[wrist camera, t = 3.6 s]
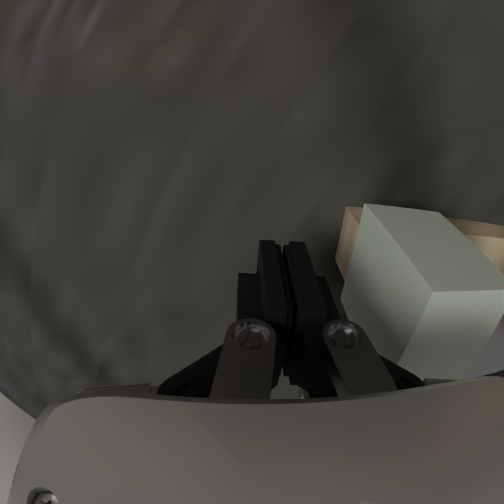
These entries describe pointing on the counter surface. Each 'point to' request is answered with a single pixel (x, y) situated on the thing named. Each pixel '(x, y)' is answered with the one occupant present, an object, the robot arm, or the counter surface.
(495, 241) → the rail
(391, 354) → the block
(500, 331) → the bolt plate
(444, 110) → the counter surface
